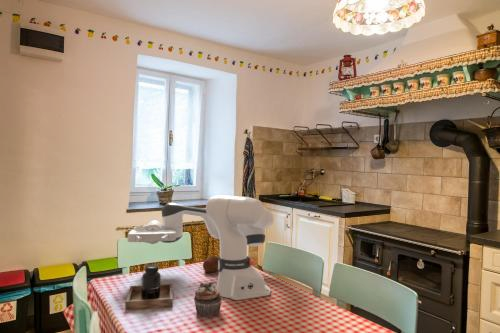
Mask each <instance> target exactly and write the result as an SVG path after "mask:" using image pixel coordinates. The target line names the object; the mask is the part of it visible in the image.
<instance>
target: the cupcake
mask: <svg viewBox="0 0 500 333" xmlns="http://www.w3.org/2000/svg"><path fill="white" fill-rule="evenodd" d="M198 287H199V288H197V290H195V293H194V298H193V300H194V305H195V312H196V315H197V316H199V317H200V318H208V319H209V318H214V317H218V316H219V314H220V312H221V307H222V302H223V298H222V296H220V293H219V291H218V290H217V289H216V284H215V282H212V281H210V283H202V282H201V283H200V285H199V286H198Z"/></svg>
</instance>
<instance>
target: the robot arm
mask: <svg viewBox="0 0 500 333" xmlns="http://www.w3.org/2000/svg"><path fill="white" fill-rule="evenodd" d="M184 215H188V216H189V215H190V216H196V217H200V218H202V220H203V221H204V224H205V226H206V229H207V232H208V233H209V235H210V236H211V237H212V238H213V239H217V240H219V256H218V258H219V260H218V270H217V271H218V276H217V282H216V285H215V289H217V290H218V291H219V293H220V296H221V298H222V297H223V298H227V299H231V300H233V301H243V300H246V299H253V298H260V297H266V296H270V295H271V288H270V287H269V286H268V285H267V284H266V282H265V278H264V275H263V274H262V273H261V272H260V271H258V270H257V269H256V268H255V267H254V266H253V265H255V263H256V261H255V260H254V259H252V258H251V257H249V256H248V246H249V247H258V246H261V245H263V244H264V243H265V242H266V241H265V240H266V234H265V233H266V232H265V231H266V229H269V228H270V227H271V226H272V225H273V223H274V215H273V213H272V211H271V210H270V209H268V208H267V207H265V206H264V204H263V202H262V201H261V200H260V199H257V198H253V197H250V196H241V195H239V196H238V195H229V194H219V195H214V196H211V197H209V199H208V200H207V202H206V205H205V208H203V207H198V206H197V207H196V206H190V205H189V206H188V205H185V204H184V205H183V204H179V203H176V202H168V203H166V204H165V205H163V207H162V208H161V217H162V218H161V220H162V221H161V222H160V220H157V219H156V220H155V219H154V220H149V221H148V222H147V223H146V224H145V225H140V226H134V227H132V229H131V230H129V231H128V233H127V242H128V243H147V244H151V245H154V244H158V243H160V242H161V243H165V244H171V243H175V242H178V241H179V240H180V239H181V238H183V233H184V226H183V225H184V224H183V222H184V219H183V217H184Z"/></svg>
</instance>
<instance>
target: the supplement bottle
mask: <svg viewBox="0 0 500 333" xmlns="http://www.w3.org/2000/svg"><path fill="white" fill-rule="evenodd" d="M161 276H162V275H161V273H160V272H159V265H158V264H153V263H151V264H147V265H145V267H144V272H143V274H142V275H141V285H142V290H141V298H142V299H143V300H145V299H158V298H159V297H160V284H161V281H162V280H161Z"/></svg>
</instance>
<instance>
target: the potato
mask: <svg viewBox="0 0 500 333" xmlns="http://www.w3.org/2000/svg"><path fill="white" fill-rule="evenodd" d="M218 260H219V256H215V255H211V256H208V257H206V259H204V261H203V263H202V267H203V270H204V271H205V272H206V273H208V274H210V273H214V272H216V271H219V270H218Z"/></svg>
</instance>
